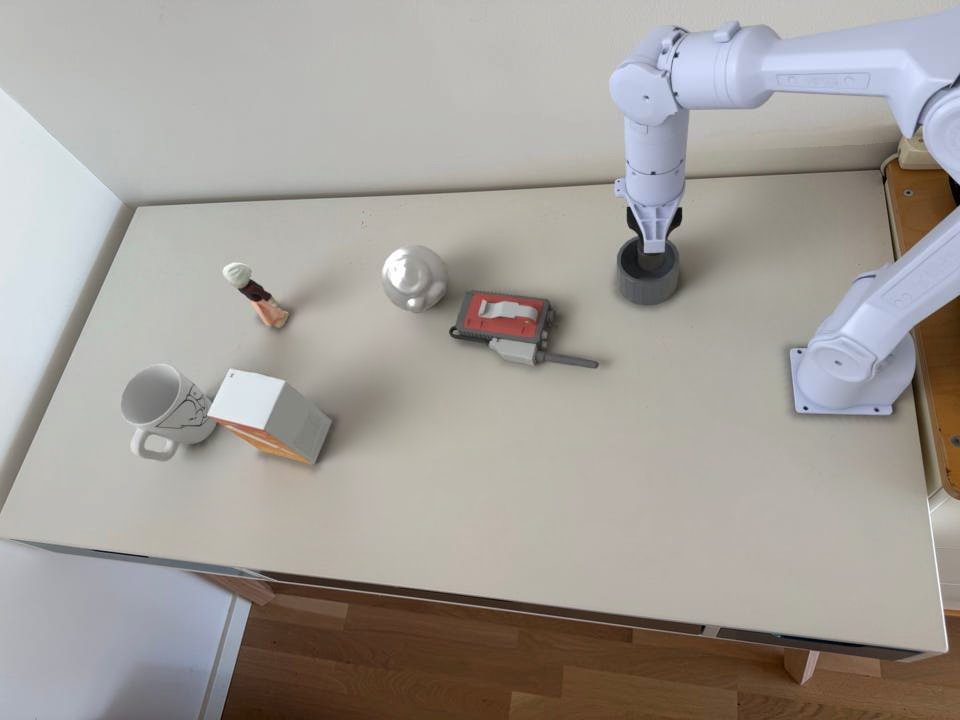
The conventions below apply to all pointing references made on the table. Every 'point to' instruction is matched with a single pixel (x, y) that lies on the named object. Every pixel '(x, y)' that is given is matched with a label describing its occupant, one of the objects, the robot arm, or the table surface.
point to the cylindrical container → (646, 275)
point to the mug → (165, 410)
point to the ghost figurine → (414, 278)
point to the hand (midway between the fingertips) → (653, 238)
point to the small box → (270, 415)
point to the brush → (650, 259)
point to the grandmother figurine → (255, 294)
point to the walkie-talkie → (511, 327)
